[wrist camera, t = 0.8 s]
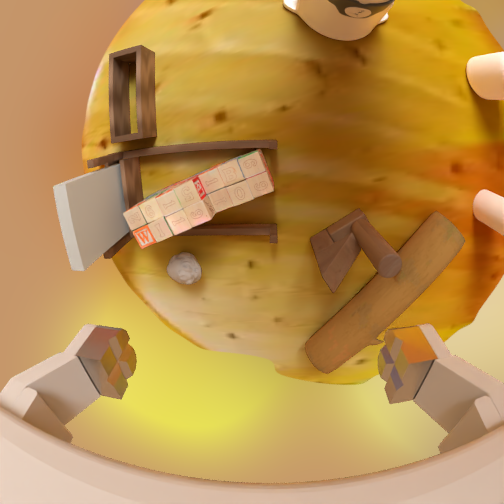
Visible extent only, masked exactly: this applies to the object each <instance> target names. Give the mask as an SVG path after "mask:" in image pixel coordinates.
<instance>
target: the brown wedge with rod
mask: <svg viewBox="0 0 504 504" xmlns="http://www.w3.org/2000/svg"><path fill="white" fill-rule="evenodd" d="M310 241H311V244H312V247H313V250H314V253H315V256H316V259H317V262H318V265H319V268H320V272H321V275H322V277H323V279H324V280H325V282H326V283H327V285H328V286H329V288H330V290H331V291H332V293H334V292H335V291H336V289H337V288H338V286H339V284H340V283H341V281H342V280H343V278H344V277H345V275H346V274H347V272H348V270H349V269H350V267H351V266H352V264H353V262H354V261H355V259H356V257H357V256H358V254H359V252H360V251H361V248H362V249H363V251H364V252H365V254H366V255H367V257H368V258H369V260H370V261H371V263H372V264H373V266H374V267H375V269H376V270H377V272H378V273H379V274H380V276H382V277H384V278H391V277H394V276H395V275H397V274H398V273H399V271H400V269H401V267H402V260H401V258H400V256H399V255H398V254H397V253H396V251H395V250H394V249H393V248H392V247H391V246H390V245H389V244H388V243H387V241H386V240H385V239H384V238H383V237H382V236H381V235H380V234H379V233H378V232H377V231H376V230H375V228H374V227H373V226H372V225H371V224H370V223H369V221H368V219H367V217H366V215H365V214H364V213H363V212H362V211H361V210H360V209H357V210H355V211H353V212H352V213H350V214H348V215H347V216H345V217H344V218H342V219H340V220H339V221H337V222H336V223H334V224H332V225H331V226H329V227H327V230H326V229H324V230H323V231H321V232H319V233H318V234H316V235H314V236H313V237H311V238H310ZM334 242H335V243H334ZM359 245H360V246H361V248H360V246H359Z"/></svg>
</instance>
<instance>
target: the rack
mask: <svg viewBox="0 0 504 504" xmlns="http://www.w3.org/2000/svg"><path fill="white" fill-rule="evenodd" d="M233 148H269V149H277V140H238V141H217V142H202V143H189V144H178V145H169V146H160V147H152V148H144V149H137V150H130V151H124V152H118V153H112V154H108V155H107V156H103V157H99V158H95V159H91V160H88V161H87V164H88V168H93V167H97V166H100V165H103V164H105V167H108V166H111V165H115V164H118V163H119V161H120V171H121V179H122V187H123V195H124V202H125V208H126V211H127V210H128V209H130V208H132V207H133V206H134V205H136V204H138V203H139V202H141V201H143V200H144V199H143V191H142V183H141V173H140V163H139V156H146V155H155V154H164V153H174V152H185V151H197V150H212V149H233ZM124 158H127V159H124ZM120 159H123V160H120ZM128 227H129V225H128ZM186 235H270V243H277V224H200V225H197V226H195V227H192V228H191V229H189V230H186V231H184V232H182V233H180V234H177V235H173V236H186ZM133 237H135V236H134V235H133V231H131V229H130V227H129V232H128V233H127V234H125V235H124V236H123V237H122V238H121V239H120V240H118V241H117V242H116V243H115V244H114V245H113V246H111V247H110V248H109V249H108V250H107V251H106V252H105V253H104V258H106V259H107V258H109V259H110V258H111V257H112V256H114V255H115V254H116V253H117V252H118V251H119V250H120V249H121V248H122V247H123V246H124V245H125V244H126V243H128V242H129V241H130V240H131V239H132V238H133Z"/></svg>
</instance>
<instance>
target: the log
mask: <svg viewBox="0 0 504 504" xmlns="http://www.w3.org/2000/svg"><path fill="white" fill-rule="evenodd" d="M464 243H465V239H464V237H463V236H462V234H461V233H460V232H459V230H458V229H457V228H456V227H455V226H454V225H453V224H452V223H451V222H450V221H449V220H448V219H447V218H446V217H444V216H443V215H442V214H440V213H439V212H437V211H435V212H434V213H433V214H431V215H430V216H429V217H428V218H427V220H426V221H425V222H424V223H423V224H422V225H421V227H420V228H419V229H418V230H417V231H416V232H415V233H414V234H413V236H412V237H411V238H410V239H409V240H408V241H407V242H406V244H405V245H404V246H403V247H402V248H401V249H400V250H399V251H398V252H397V254H398V255H399V256H400V258H401V260H402V267H401V269H400V271H399V273H398V274H397V275H395V276H394V277H391V278H384V277H382V276H380V274H379V273H378V274H377V275H376V276H375V277H374V278H373V279H372V280H371V281H370V282H369V283H368V284H367V285H366V286H365V287H364V288H363V289H362V290H361V291H360V292H359V293H358V294H357V295H356V296H355V297H354V298H353V299H352V300H351V301H350V302H349V303H348V304H347V305H346V306H345V307H344V308H342V309H341V310H340V311H339V312H338V313H337V314H336V315H335V316H334V317H333V318H332V319H331V320H330V321H328V322H327V323H326V324H325V325H324V326H323V327H322V328H321V329H320V330H319V331H318V332H316V333H315V334H314V335H313V336H312V337H311V338H310V339H309V340H308V341H307V342H306V344H305V349H306V353H307V355H308V357H309V359H310V361H311V362H312V364H313V365H314V366H315V367H316V368H317V369H318V370H319V371H321V372H323V373H326V374H328V373H330V372H332V371H333V370H335V369H337V368H338V367H339V366H341V365H342V364H343V363H345V362H346V361H347V360H349V359H350V358H351V357H353V356H354V355H355V354H356V353H358V352H359V351H361V350H362V349H363V348H365V347H366V346H368V345H378V344H380V343H382V342H384V341H381V340H378V339H376V338H377V336H378V335H379V334H380V333H381V332H382V331H384V330H385V329H386V328H387V327H388V326H389V325H390V324H391V323H392V322H393V321H394V320H395V319H396V318H397V317H398V316H399V315H401V314H402V313H403V312H404V311H405V310H406V309H407V308H408V307H409V306H410V305H411V304H412V303H413V302H414V301H415V300H416V299H417V298H418V297H419V296H420V295H421V294H422V293H423V292H424V291H425V290H426V289H427V287H428V286H429V285H430V284H431V283H432V282H433V281H434V280H435V279H436V278H437V277H438V276H439V275H440V273H441V272H442V271H443V270H444V269H445V268H446V267H447V265H448V264H449V263H450V262H451V261H452V259H453V258H454V257H455V256H456V255H457V253H458V252H459V251H460V250H461V248H462V246H463V245H464Z"/></svg>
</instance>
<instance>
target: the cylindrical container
mask: <svg viewBox="0 0 504 504" xmlns="http://www.w3.org/2000/svg"><path fill="white" fill-rule="evenodd" d="M473 213H474V216H475V217H476V218H477V219H478V220H479V221H481V222H483V223H484V224H486V225H487V226H489V227H491V228H492V229H494V230H495V231H497V232H498V233H500V234H501V235H503V236H504V197H501V196H499V195H497V194H495V193H493V192H491V191H488V190H481V191H480V192H479V193H478V194H477V195H476V197H475V199H474V202H473Z"/></svg>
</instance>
